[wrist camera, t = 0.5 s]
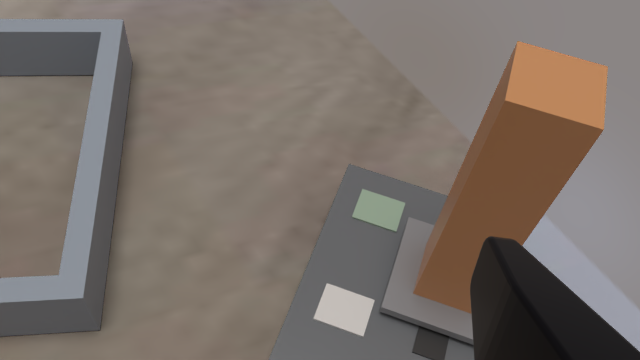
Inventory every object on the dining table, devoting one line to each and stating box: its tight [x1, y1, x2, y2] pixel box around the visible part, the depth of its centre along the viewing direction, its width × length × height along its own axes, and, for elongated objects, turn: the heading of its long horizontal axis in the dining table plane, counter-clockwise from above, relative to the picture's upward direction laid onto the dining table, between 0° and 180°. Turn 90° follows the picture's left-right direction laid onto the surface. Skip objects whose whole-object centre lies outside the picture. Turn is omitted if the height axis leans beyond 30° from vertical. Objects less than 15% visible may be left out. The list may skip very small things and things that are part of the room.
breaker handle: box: [380, 41, 608, 345], centre depth 19 cm, size 4×4×11 cm
